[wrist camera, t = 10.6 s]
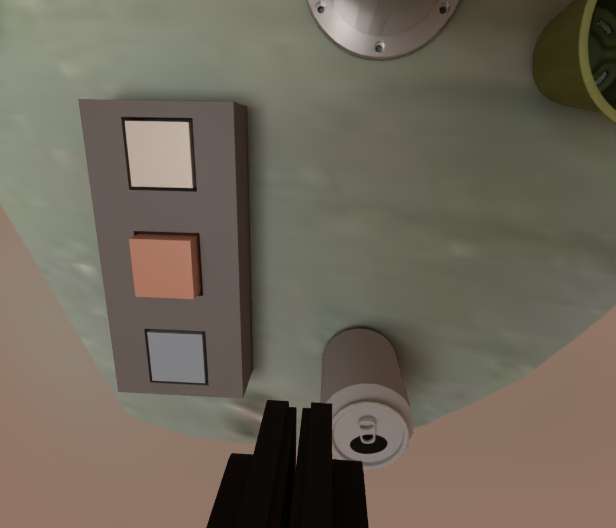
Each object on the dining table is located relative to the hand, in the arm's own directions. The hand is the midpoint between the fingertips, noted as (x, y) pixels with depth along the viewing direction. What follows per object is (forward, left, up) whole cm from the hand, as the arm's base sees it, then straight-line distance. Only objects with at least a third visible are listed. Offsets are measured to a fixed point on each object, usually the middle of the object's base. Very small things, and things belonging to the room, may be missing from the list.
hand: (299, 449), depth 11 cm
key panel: (+3, -13, -29) cm, 32 cm away
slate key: (+12, -13, -28) cm, 33 cm away
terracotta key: (+3, -13, -27) cm, 30 cm away
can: (+14, +4, -29) cm, 33 cm away
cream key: (-6, -13, -28) cm, 31 cm away
